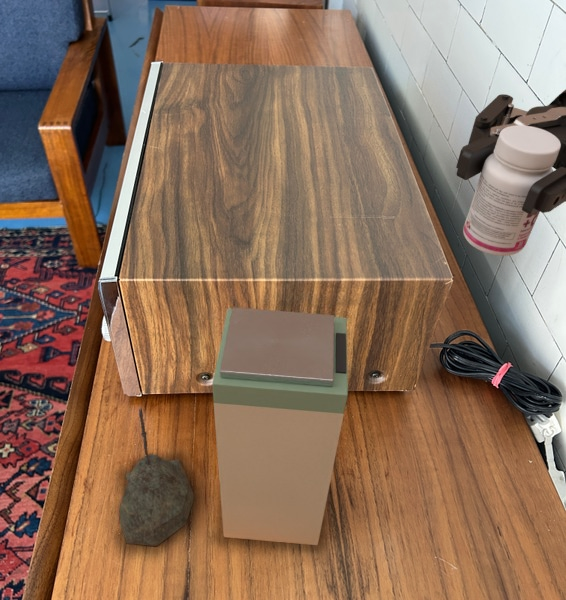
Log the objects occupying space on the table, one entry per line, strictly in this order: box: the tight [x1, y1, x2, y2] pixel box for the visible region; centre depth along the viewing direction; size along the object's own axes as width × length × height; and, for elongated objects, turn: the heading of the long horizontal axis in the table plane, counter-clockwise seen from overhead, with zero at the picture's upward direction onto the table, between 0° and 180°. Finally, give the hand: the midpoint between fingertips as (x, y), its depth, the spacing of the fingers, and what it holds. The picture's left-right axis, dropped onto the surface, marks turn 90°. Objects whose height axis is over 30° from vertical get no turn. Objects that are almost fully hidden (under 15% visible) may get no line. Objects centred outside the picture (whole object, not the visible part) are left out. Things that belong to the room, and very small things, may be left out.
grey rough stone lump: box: [118, 408, 195, 547], centre depth 58 cm, size 10×8×12 cm
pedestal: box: [213, 402, 345, 546], centre depth 54 cm, size 10×8×24 cm
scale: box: [211, 306, 349, 415], centre depth 45 cm, size 10×8×3 cm
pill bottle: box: [462, 125, 561, 257], centre depth 41 cm, size 5×5×8 cm
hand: (496, 183), depth 38 cm, fingers closed on pill bottle, 4 cm apart
